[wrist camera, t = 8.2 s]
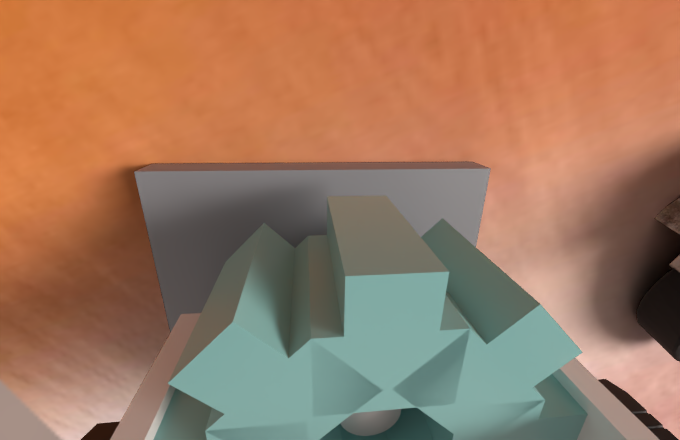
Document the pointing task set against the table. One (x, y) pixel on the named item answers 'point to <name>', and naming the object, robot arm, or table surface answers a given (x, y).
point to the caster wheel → (665, 295)
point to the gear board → (286, 218)
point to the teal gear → (370, 340)
